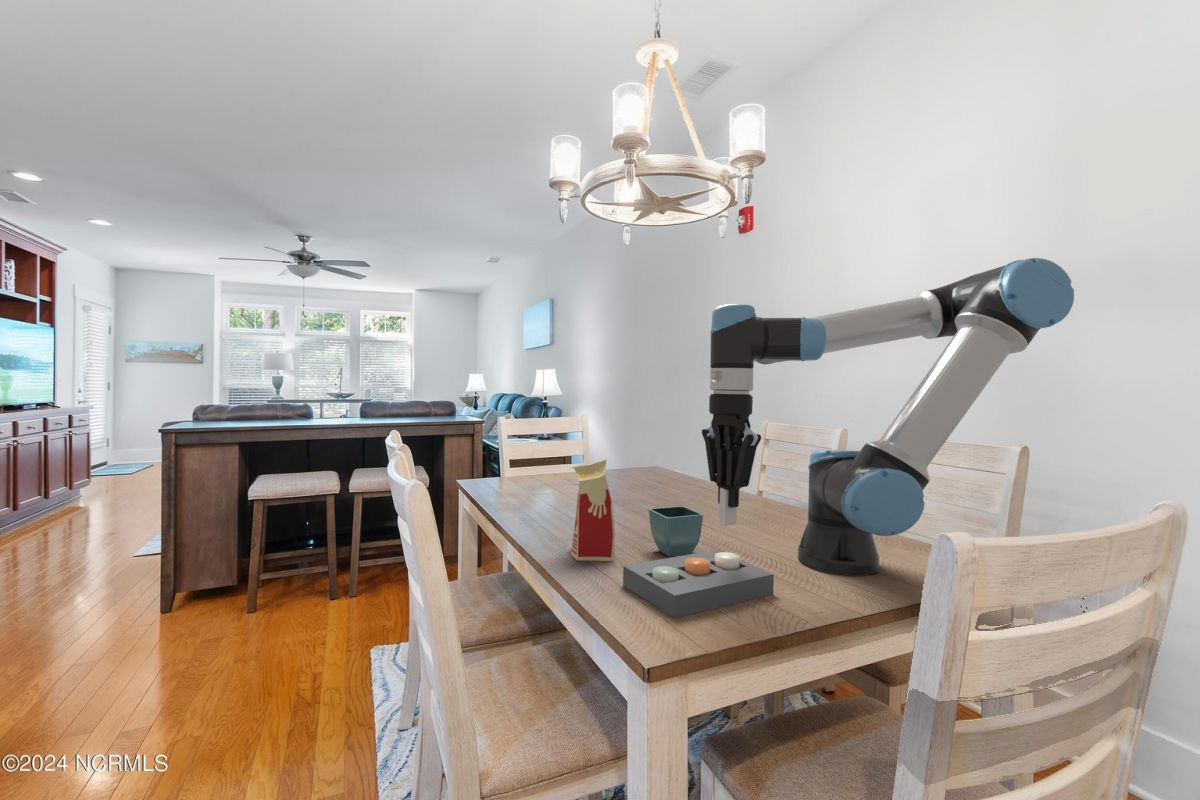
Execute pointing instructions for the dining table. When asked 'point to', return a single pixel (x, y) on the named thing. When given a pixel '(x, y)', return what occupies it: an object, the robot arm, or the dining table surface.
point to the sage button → (665, 574)
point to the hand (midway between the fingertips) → (727, 523)
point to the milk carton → (593, 515)
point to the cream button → (727, 560)
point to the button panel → (697, 585)
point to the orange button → (697, 566)
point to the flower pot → (675, 529)
